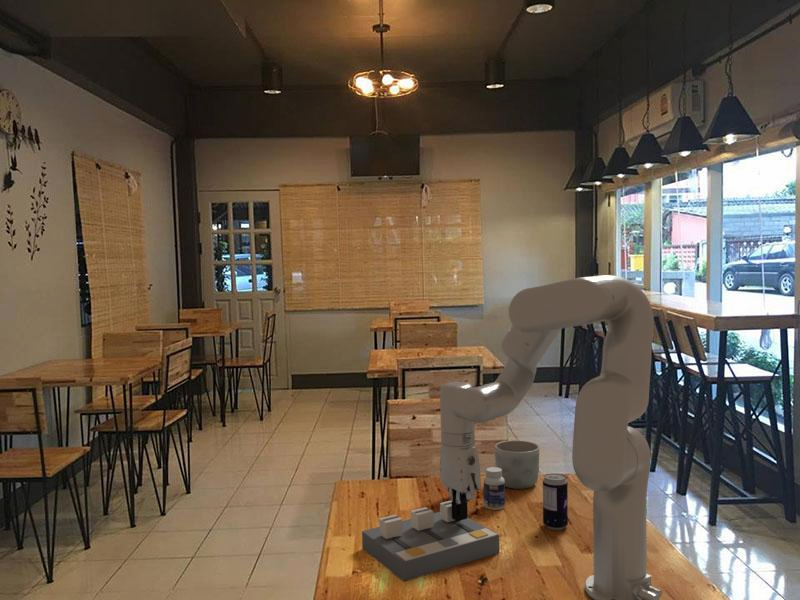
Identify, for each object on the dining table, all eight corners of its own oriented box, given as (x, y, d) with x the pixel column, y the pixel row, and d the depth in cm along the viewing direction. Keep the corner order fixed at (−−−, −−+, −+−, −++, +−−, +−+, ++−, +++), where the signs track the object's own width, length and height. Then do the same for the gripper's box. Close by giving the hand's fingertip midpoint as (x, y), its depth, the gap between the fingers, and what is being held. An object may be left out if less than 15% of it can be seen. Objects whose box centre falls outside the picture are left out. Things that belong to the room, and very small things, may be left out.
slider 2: (433, 526, 149) (433, 510, 149) (418, 530, 147) (417, 514, 147) (426, 522, 152) (426, 506, 152) (411, 526, 150) (410, 509, 150)
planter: (492, 490, 185) (492, 451, 184) (497, 476, 197) (496, 439, 196) (539, 493, 182) (538, 453, 181) (540, 478, 194) (540, 441, 193)
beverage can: (568, 532, 156) (568, 481, 155) (543, 530, 157) (542, 480, 156) (567, 522, 161) (566, 473, 160) (543, 521, 162) (542, 472, 162)
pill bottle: (488, 511, 169) (488, 473, 169) (480, 504, 174) (480, 467, 174) (508, 509, 171) (508, 471, 170) (499, 502, 176) (499, 465, 175)
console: (499, 552, 145) (499, 532, 145) (403, 581, 133) (403, 559, 133) (451, 525, 161) (451, 506, 161) (362, 548, 149) (362, 528, 149)
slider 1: (402, 534, 145) (402, 518, 145) (386, 539, 143) (385, 522, 143) (395, 530, 148) (395, 513, 148) (379, 534, 146) (379, 517, 146)
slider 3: (462, 518, 154) (461, 502, 153) (447, 522, 152) (447, 506, 151) (454, 514, 156) (454, 498, 156) (440, 518, 154) (439, 502, 154)
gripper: (492, 442, 145) (493, 526, 146) (452, 429, 158) (454, 505, 159) (463, 448, 141) (465, 533, 142) (425, 433, 154) (427, 512, 155)
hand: (459, 518), depth 151 cm, fingers closed
